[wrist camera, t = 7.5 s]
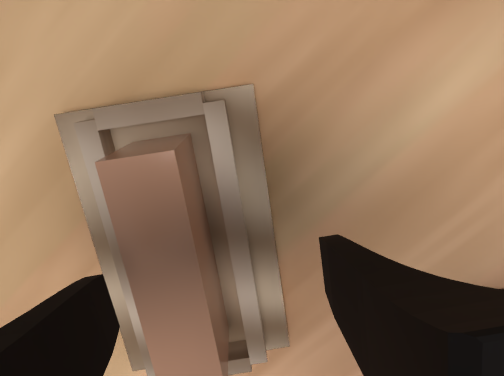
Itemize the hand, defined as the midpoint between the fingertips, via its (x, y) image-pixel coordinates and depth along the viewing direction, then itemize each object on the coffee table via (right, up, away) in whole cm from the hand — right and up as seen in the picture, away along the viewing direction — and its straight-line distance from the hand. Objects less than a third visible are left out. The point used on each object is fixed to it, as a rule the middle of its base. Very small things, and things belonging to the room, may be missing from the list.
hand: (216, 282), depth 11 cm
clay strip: (-3, 0, +8) cm, 8 cm away
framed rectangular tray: (-3, 0, +9) cm, 9 cm away
